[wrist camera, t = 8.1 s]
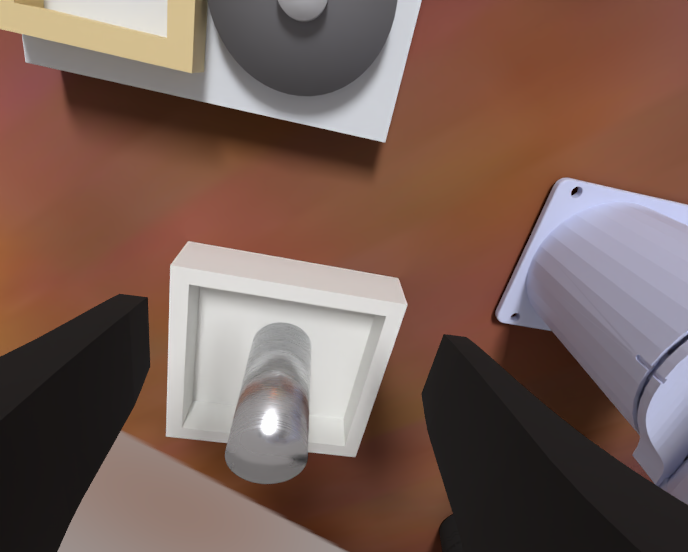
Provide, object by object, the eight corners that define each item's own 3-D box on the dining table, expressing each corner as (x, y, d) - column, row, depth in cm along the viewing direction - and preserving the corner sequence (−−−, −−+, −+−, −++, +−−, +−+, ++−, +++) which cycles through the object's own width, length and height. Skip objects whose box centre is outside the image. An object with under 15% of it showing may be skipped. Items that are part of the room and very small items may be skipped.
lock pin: (311, 322, 21) (308, 427, 15) (311, 369, 23) (307, 483, 17) (250, 321, 21) (221, 428, 15) (253, 369, 23) (228, 484, 17)
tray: (398, 278, 21) (407, 304, 19) (352, 422, 26) (355, 457, 24) (188, 241, 20) (170, 264, 17) (180, 400, 24) (166, 436, 22)
